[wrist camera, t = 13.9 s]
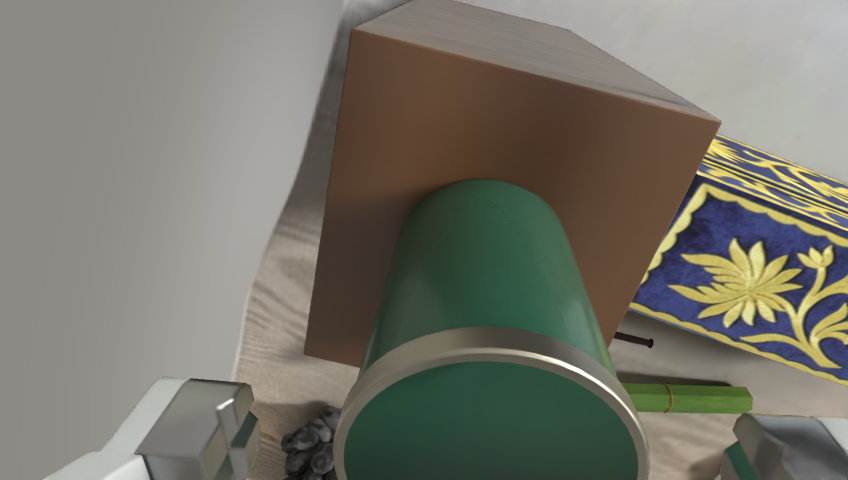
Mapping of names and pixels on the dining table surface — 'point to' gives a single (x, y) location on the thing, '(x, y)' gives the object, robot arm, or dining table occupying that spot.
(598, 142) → the shelf
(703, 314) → the decorative box
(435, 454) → the tin
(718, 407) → the decorative plant
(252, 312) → the dining table surface
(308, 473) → the fruit
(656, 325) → the dining table surface
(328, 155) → the dining table surface
